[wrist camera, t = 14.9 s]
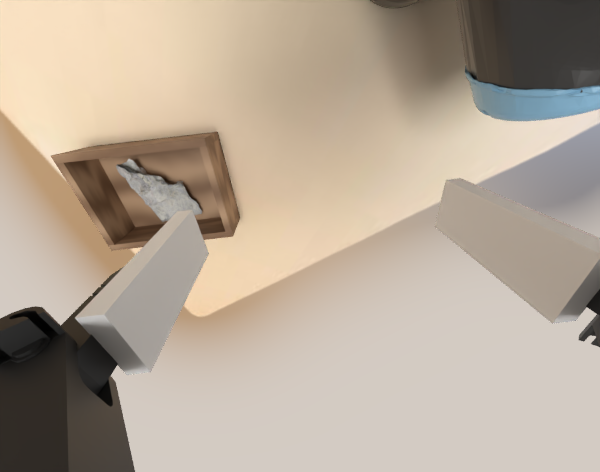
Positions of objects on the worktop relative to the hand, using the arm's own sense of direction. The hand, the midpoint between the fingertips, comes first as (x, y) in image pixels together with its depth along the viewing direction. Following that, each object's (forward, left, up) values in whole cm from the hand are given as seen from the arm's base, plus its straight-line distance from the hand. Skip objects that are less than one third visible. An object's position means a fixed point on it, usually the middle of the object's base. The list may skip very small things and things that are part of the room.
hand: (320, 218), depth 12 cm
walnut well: (+5, -22, -29) cm, 37 cm away
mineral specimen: (+6, -22, -28) cm, 36 cm away
